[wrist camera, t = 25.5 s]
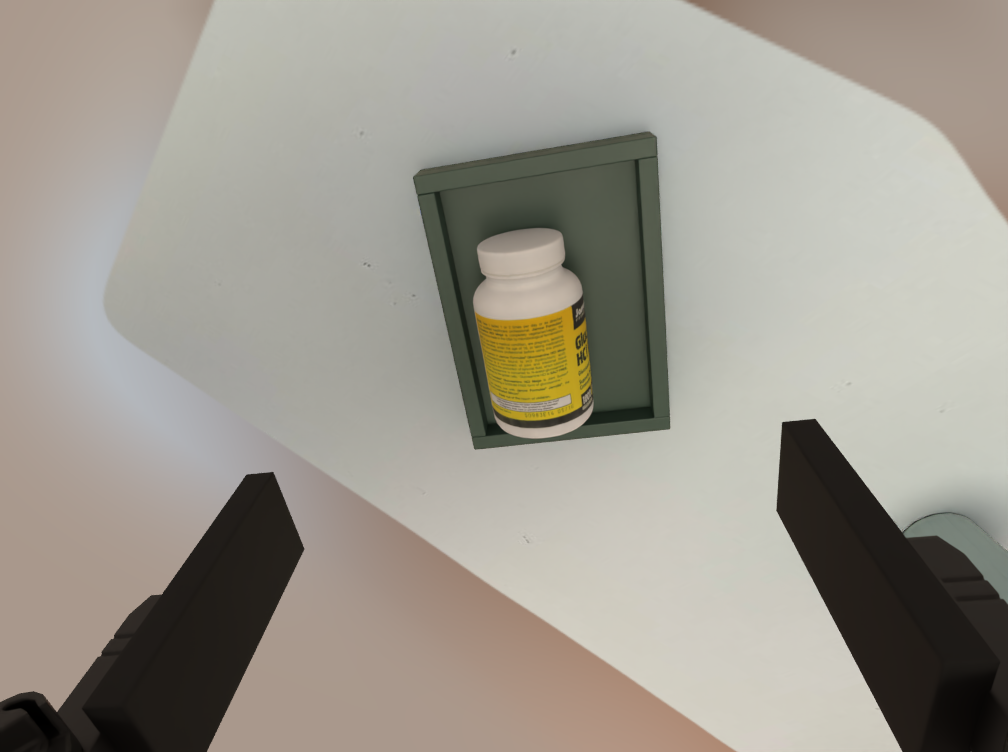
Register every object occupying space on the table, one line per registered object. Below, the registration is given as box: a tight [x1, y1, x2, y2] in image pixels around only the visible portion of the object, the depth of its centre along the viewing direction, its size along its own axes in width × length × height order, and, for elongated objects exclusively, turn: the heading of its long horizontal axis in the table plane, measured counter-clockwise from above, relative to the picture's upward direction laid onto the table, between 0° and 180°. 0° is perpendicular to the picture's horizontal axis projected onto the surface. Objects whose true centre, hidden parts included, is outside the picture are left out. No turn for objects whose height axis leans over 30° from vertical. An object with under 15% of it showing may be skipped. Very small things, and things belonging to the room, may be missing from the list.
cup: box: [903, 513, 1008, 604], centre depth 40 cm, size 8×8×10 cm
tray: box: [413, 132, 670, 450], centre depth 37 cm, size 18×13×2 cm
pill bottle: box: [473, 228, 594, 438], centre depth 35 cm, size 6×6×11 cm
